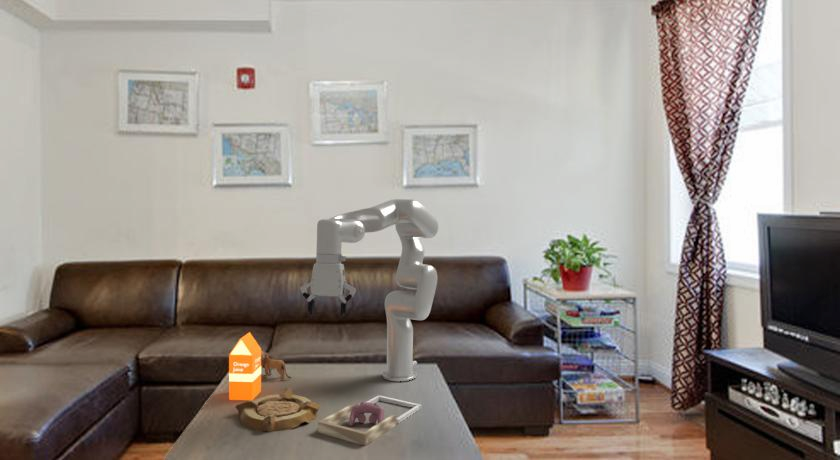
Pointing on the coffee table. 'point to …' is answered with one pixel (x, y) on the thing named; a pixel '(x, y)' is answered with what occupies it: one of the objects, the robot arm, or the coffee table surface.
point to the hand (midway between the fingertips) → (327, 314)
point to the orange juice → (245, 369)
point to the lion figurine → (273, 365)
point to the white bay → (395, 401)
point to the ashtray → (277, 412)
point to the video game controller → (366, 408)
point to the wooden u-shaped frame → (352, 435)
